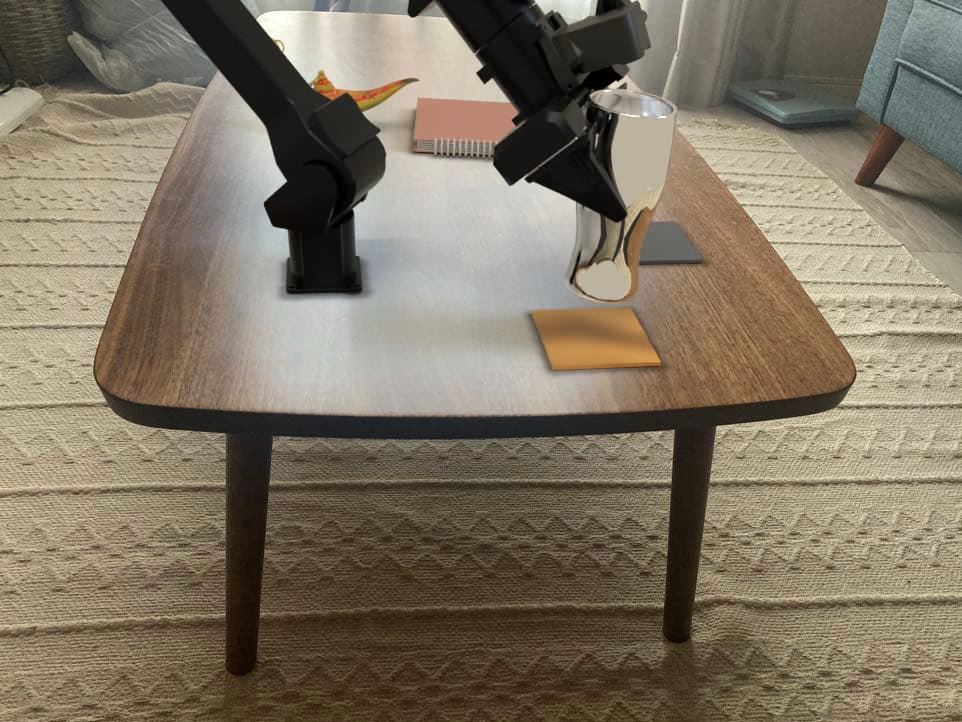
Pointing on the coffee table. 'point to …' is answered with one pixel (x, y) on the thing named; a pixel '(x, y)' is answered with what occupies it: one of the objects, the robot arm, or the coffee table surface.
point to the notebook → (461, 126)
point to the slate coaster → (667, 245)
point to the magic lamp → (362, 98)
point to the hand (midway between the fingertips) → (632, 202)
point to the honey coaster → (594, 338)
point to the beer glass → (622, 191)
